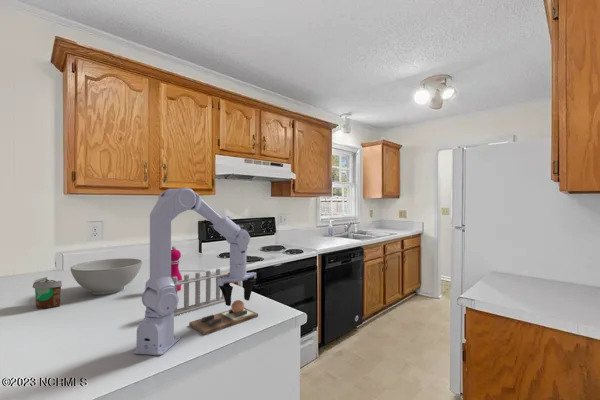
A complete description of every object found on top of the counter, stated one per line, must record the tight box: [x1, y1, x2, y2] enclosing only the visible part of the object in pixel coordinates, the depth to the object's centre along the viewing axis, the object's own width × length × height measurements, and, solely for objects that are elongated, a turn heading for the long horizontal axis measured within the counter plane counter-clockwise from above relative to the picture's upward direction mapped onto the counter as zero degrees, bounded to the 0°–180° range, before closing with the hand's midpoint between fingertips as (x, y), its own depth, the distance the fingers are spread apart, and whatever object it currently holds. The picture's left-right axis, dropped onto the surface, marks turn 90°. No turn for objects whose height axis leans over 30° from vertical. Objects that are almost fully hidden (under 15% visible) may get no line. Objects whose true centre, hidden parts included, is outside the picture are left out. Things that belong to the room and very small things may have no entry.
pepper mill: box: [171, 245, 183, 292], centre depth 131 cm, size 7×7×20 cm
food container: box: [32, 276, 63, 310], centre depth 109 cm, size 12×6×10 cm, turn 62°
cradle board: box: [188, 307, 259, 336], centre depth 96 cm, size 20×10×2 cm, turn 136°
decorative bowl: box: [69, 257, 143, 295], centre depth 130 cm, size 27×27×12 cm
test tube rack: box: [172, 268, 230, 317], centre depth 109 cm, size 25×4×13 cm, turn 138°
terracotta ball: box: [230, 299, 245, 313], centre depth 100 cm, size 4×4×4 cm
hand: (237, 302), depth 100 cm, fingers open, 7 cm apart
